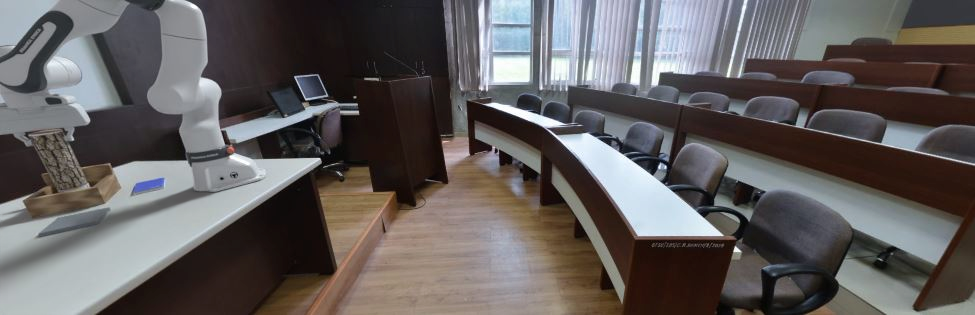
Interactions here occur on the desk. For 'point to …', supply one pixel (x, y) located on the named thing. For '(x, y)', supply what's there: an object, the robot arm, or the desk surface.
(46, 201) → the frame
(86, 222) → the slate pad
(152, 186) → the hard drive
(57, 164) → the wooden log
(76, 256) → the desk surface
